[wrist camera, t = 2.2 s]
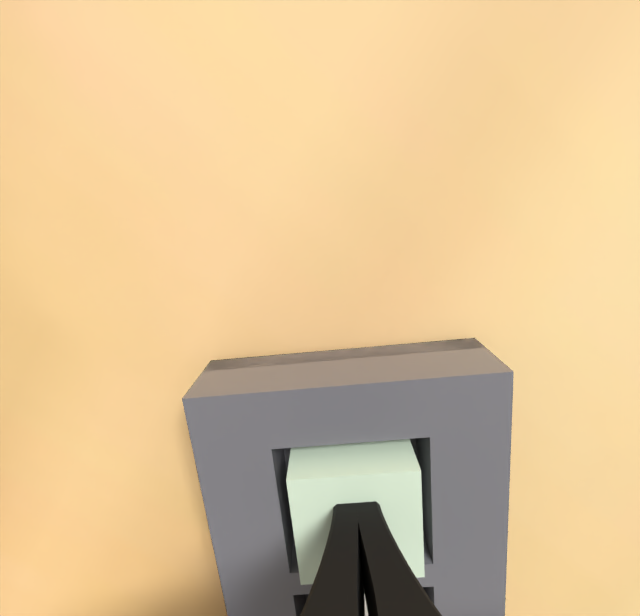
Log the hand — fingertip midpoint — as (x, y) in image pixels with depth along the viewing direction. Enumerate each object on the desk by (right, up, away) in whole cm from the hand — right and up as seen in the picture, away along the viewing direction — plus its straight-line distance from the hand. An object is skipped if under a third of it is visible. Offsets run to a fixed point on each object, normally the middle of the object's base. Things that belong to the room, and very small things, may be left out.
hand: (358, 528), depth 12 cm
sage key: (0, 0, +2) cm, 2 cm away
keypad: (+1, -5, +5) cm, 7 cm away
